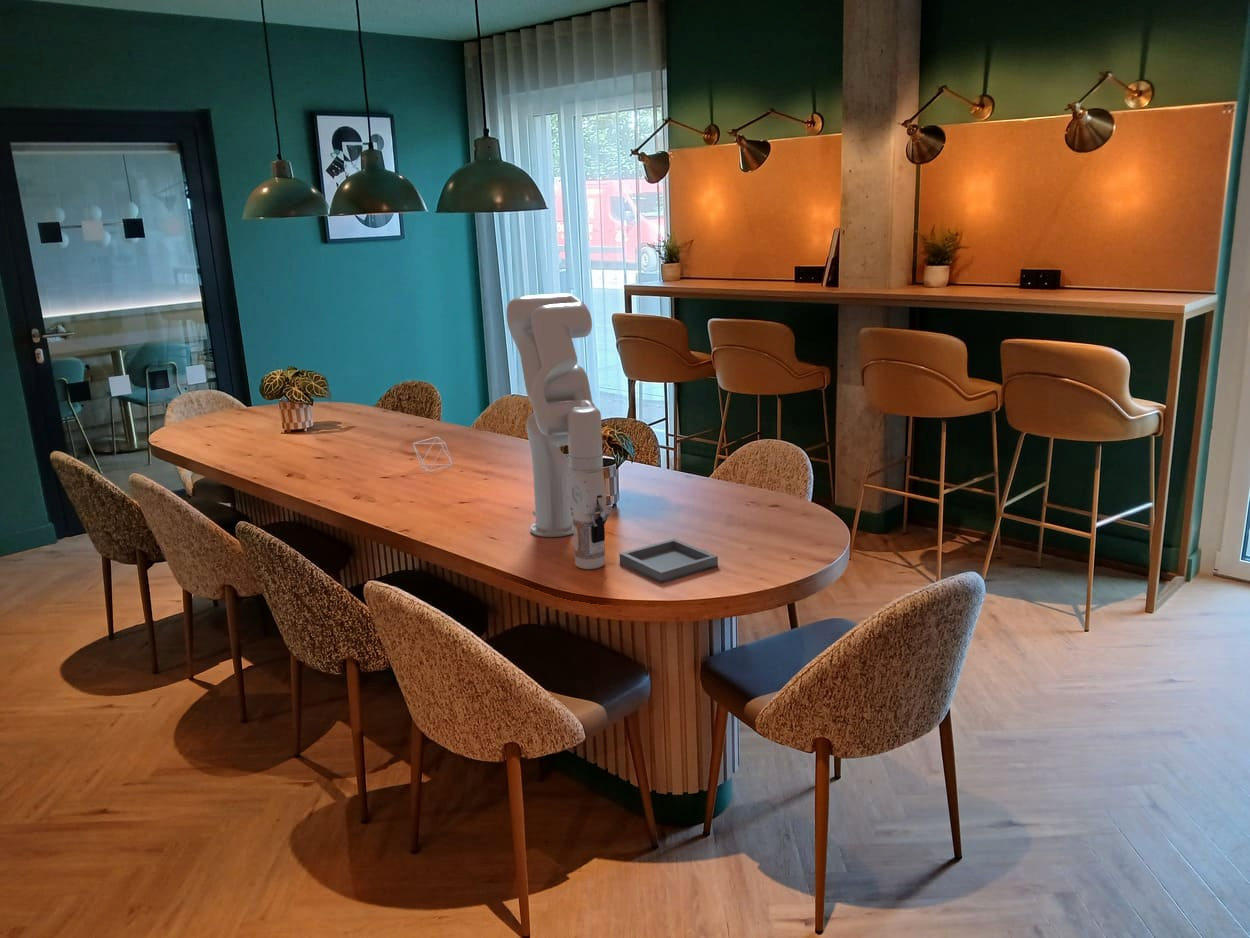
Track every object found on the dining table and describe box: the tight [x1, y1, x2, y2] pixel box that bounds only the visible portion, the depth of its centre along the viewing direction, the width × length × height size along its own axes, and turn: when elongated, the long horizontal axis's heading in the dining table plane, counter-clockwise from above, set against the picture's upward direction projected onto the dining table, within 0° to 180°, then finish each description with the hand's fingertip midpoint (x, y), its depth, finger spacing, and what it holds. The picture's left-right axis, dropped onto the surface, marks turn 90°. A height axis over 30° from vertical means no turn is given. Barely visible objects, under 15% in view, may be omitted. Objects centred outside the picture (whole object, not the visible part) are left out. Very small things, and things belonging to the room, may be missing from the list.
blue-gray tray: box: [618, 538, 719, 584], centre depth 218 cm, size 16×16×2 cm
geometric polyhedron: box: [412, 436, 453, 473], centre depth 312 cm, size 12×11×9 cm
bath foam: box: [573, 508, 606, 570], centre depth 217 cm, size 7×7×20 cm
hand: (589, 536), depth 218 cm, fingers closed on bath foam, 7 cm apart
